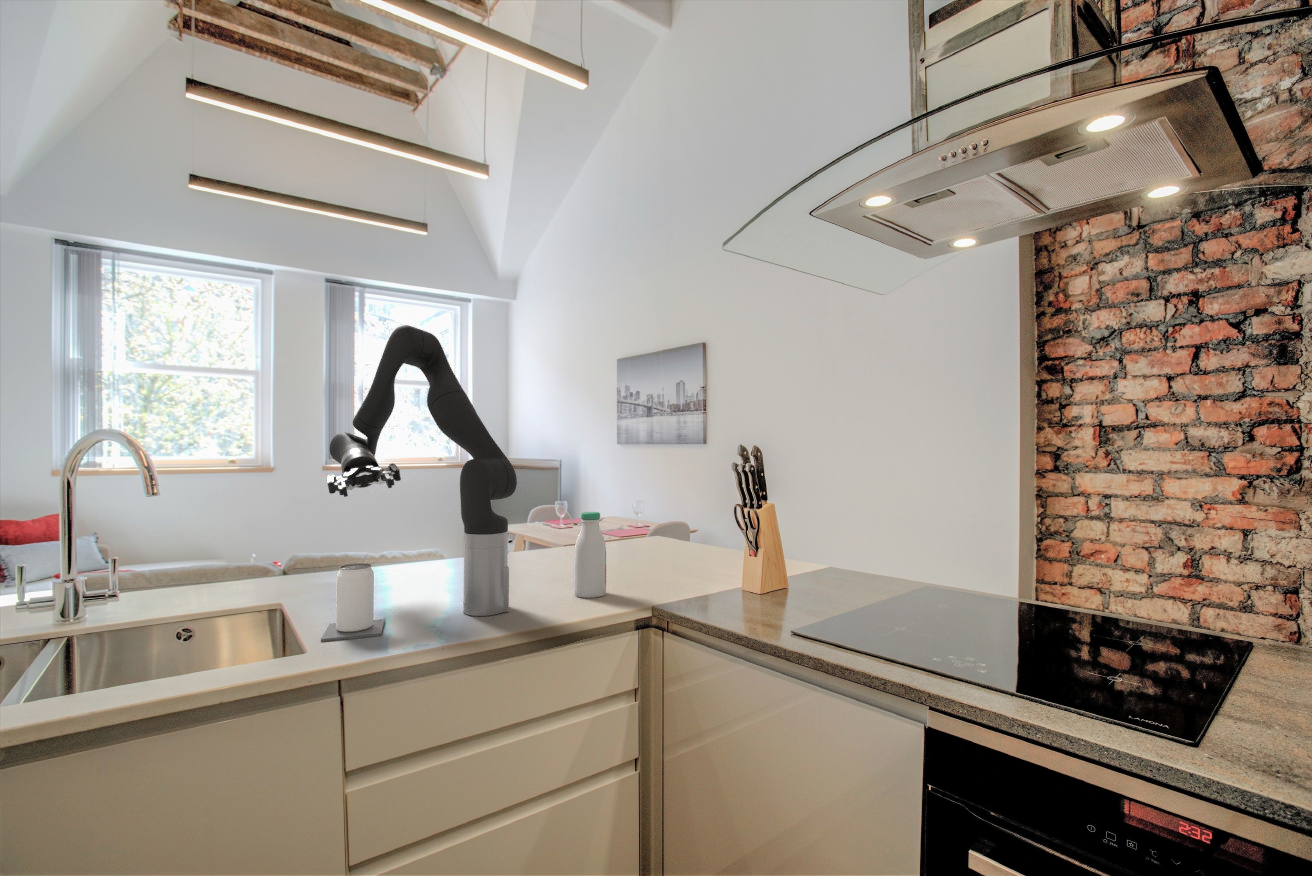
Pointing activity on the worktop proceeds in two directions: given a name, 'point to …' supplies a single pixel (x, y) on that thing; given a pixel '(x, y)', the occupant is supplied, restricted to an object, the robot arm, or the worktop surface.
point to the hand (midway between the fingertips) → (367, 487)
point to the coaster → (334, 634)
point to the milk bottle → (590, 558)
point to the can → (354, 597)
